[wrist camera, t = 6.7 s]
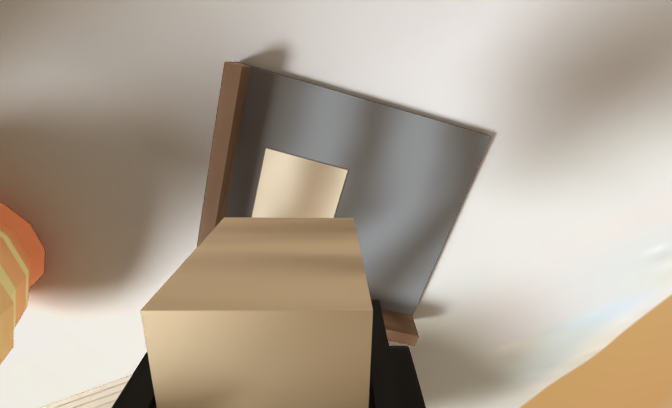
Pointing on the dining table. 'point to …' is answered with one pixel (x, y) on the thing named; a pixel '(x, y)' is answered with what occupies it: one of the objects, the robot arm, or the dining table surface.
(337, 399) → the maple block
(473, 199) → the dining table surface
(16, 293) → the potted cactus
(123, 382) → the stack of papers
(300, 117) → the corner arena
